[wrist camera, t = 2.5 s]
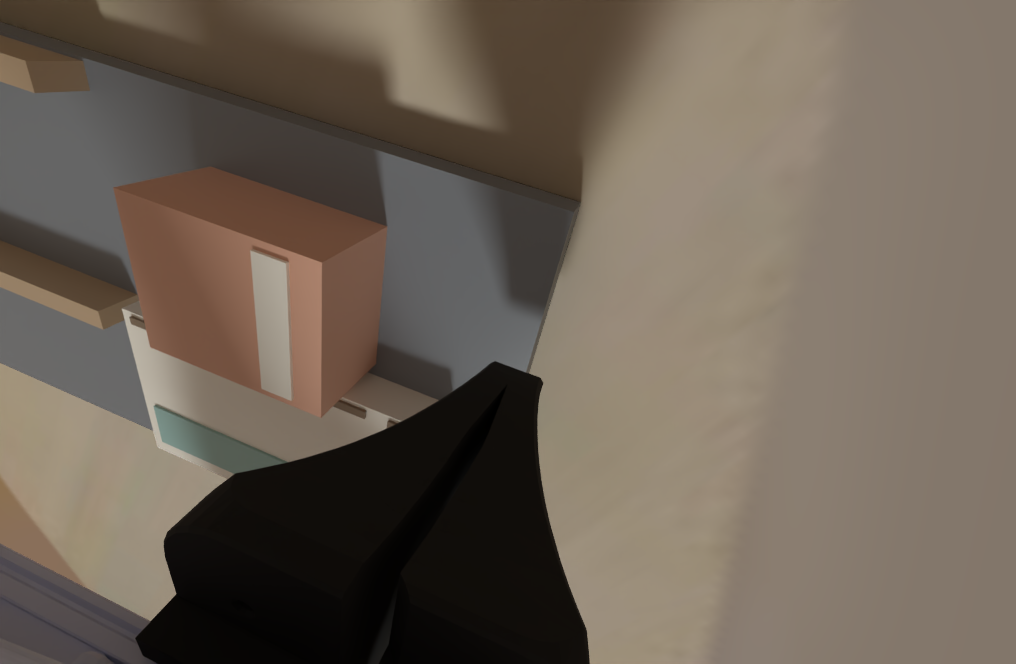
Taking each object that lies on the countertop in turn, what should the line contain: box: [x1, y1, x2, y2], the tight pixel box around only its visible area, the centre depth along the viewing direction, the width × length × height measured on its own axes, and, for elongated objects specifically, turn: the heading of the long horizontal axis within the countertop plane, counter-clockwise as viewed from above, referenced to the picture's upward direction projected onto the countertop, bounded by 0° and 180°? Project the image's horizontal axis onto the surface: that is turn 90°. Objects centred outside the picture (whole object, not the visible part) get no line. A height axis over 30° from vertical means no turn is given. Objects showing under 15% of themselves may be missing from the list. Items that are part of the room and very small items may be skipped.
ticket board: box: [0, 22, 581, 479], centre depth 18 cm, size 16×26×3 cm, turn 77°
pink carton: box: [113, 167, 387, 418], centre depth 14 cm, size 5×6×3 cm
